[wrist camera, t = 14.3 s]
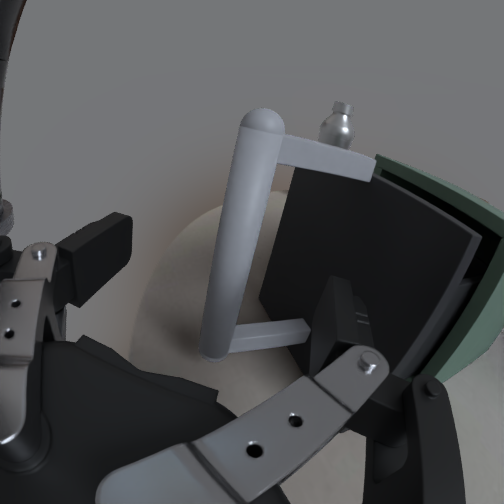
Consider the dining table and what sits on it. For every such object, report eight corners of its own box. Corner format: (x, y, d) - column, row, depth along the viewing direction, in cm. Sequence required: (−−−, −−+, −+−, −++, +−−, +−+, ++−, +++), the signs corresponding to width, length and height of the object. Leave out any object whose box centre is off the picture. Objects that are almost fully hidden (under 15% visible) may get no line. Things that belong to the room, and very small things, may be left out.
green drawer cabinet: (414, 400, 17) (522, 232, 11) (325, 292, 28) (376, 153, 22) (486, 351, 24) (548, 243, 17) (416, 283, 35) (458, 186, 29)
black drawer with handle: (229, 467, 12) (365, 133, 5) (177, 300, 22) (208, 98, 16) (457, 371, 21) (541, 227, 14) (378, 288, 31) (428, 164, 25)
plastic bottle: (317, 199, 59) (344, 106, 50) (338, 212, 54) (369, 112, 45) (292, 196, 56) (319, 97, 47) (313, 211, 51) (344, 101, 42)
